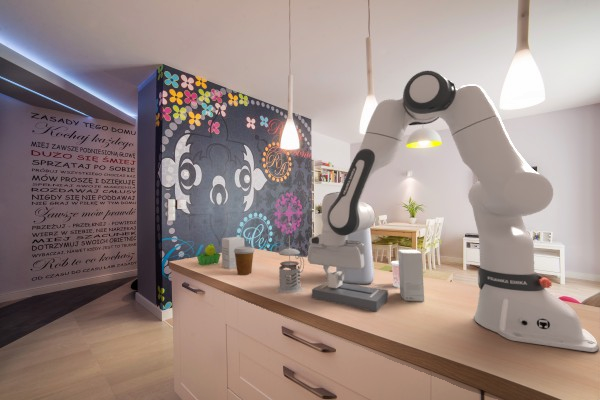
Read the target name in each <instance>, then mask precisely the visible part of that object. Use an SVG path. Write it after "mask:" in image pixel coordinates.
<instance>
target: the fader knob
mask: <svg viewBox="0 0 600 400" xmlns="http://www.w3.org/2000/svg"><path fill="white" fill-rule="evenodd" d="M341 273H342V272H341V271H336V270H333V271H330V273H329V274H328V279H327V281H328V287H331V288H338V287H339V286H341V285H342V283H343V282H342V281H340V280H338V275H340V274H341Z"/></svg>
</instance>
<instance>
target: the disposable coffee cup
mask: <svg viewBox="0 0 600 400" xmlns="http://www.w3.org/2000/svg"><path fill="white" fill-rule="evenodd" d="M254 252H255V249H254V246H251V245H250V246H249V245H245V246H241V247H236V248H235V249H234V253H235V259H236V266H237V268H236V274H237V275H239V276H247V275H250V274H252V270H253V262H254V261H253V258H254Z"/></svg>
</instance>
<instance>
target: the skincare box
mask: <svg viewBox="0 0 600 400" xmlns="http://www.w3.org/2000/svg"><path fill="white" fill-rule="evenodd" d="M397 255H398V258H397V259H398V261H399V280H400V288H399V294H400V295H401V298H402V299H403V301H405V302H425V289H424V287H425V286H424V269H423V253H422V252H421V251H419V250H417V249H400V250H398V249H397Z"/></svg>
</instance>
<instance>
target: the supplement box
mask: <svg viewBox="0 0 600 400" xmlns="http://www.w3.org/2000/svg"><path fill="white" fill-rule="evenodd" d="M241 246H246V245H245V238H244V237H240V236H231V237H223V238H222V237H221V267H223V268H225V269H227V270H233V269H237V266H236V259H235V253H234V249H235V248H236V247H241Z"/></svg>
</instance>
